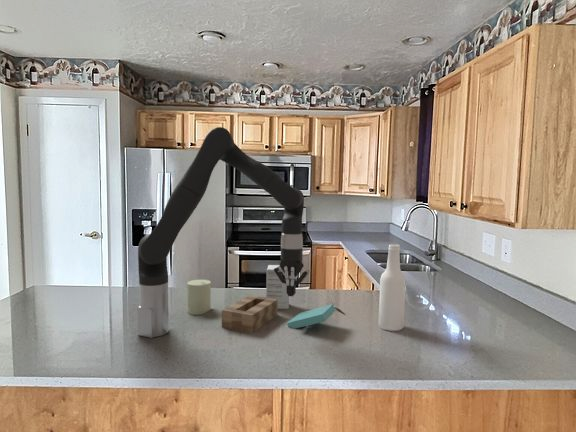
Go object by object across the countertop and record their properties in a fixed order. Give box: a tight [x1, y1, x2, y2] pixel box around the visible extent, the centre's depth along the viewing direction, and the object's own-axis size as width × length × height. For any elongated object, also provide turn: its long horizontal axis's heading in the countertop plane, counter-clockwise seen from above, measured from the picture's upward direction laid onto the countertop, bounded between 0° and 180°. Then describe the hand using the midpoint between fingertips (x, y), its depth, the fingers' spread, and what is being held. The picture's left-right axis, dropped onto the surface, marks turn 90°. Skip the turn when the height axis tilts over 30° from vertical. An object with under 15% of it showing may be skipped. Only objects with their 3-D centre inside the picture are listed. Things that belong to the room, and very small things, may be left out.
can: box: [186, 279, 212, 316], centre depth 158 cm, size 9×9×12 cm
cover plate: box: [286, 303, 336, 329], centre depth 142 cm, size 12×2×14 cm
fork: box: [325, 299, 346, 316], centre depth 164 cm, size 3×16×2 cm, turn 19°
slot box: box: [221, 294, 279, 334], centre depth 145 cm, size 20×12×7 cm, turn 156°
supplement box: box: [265, 264, 290, 310], centre depth 163 cm, size 10×9×17 cm
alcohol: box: [378, 243, 407, 332], centre depth 143 cm, size 9×9×30 cm
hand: (291, 295), depth 138 cm, fingers closed
